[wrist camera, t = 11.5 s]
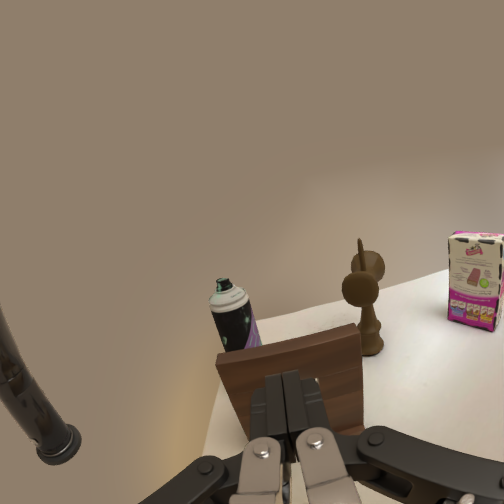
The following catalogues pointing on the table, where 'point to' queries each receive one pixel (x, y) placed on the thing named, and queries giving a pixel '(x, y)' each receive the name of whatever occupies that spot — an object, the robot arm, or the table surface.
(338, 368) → the wall plate
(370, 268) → the kendama
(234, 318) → the spray can
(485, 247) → the candy bar box
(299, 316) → the table surface
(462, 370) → the table surface
